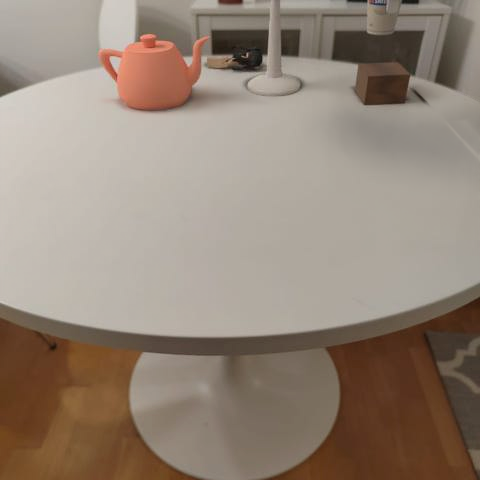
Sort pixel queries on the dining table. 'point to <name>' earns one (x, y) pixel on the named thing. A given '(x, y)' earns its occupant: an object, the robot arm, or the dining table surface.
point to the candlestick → (274, 63)
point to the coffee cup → (380, 18)
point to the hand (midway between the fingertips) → (383, 7)
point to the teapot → (153, 73)
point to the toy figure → (238, 59)
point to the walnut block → (382, 83)
